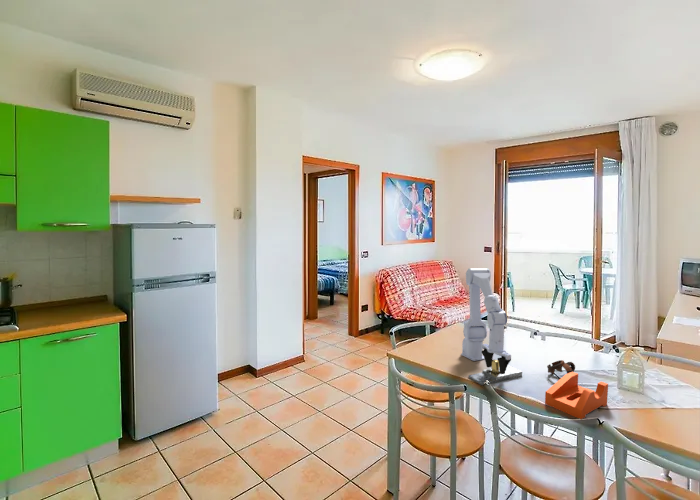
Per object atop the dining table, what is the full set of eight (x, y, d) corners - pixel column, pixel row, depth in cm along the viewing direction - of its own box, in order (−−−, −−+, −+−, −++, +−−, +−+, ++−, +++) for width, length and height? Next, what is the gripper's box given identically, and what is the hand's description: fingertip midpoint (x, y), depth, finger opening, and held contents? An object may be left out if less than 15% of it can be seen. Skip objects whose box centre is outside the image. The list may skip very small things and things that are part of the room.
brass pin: (489, 376, 161) (490, 360, 161) (495, 375, 162) (495, 359, 162) (494, 378, 159) (495, 362, 158) (500, 377, 160) (500, 361, 159)
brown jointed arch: (567, 386, 153) (556, 366, 155) (550, 387, 161) (539, 368, 163) (586, 373, 157) (575, 354, 159) (568, 375, 166) (558, 357, 168)
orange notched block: (571, 392, 147) (572, 371, 146) (606, 405, 137) (608, 383, 136) (544, 404, 138) (545, 382, 137) (581, 420, 127) (582, 397, 126)
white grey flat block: (481, 385, 153) (481, 380, 153) (468, 377, 160) (468, 373, 160) (522, 376, 161) (522, 371, 161) (507, 369, 169) (507, 364, 168)
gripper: (477, 335, 164) (476, 365, 165) (502, 346, 151) (501, 378, 152) (489, 333, 167) (488, 362, 168) (515, 343, 154) (514, 375, 155)
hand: (495, 370), depth 160 cm, fingers open, 7 cm apart
